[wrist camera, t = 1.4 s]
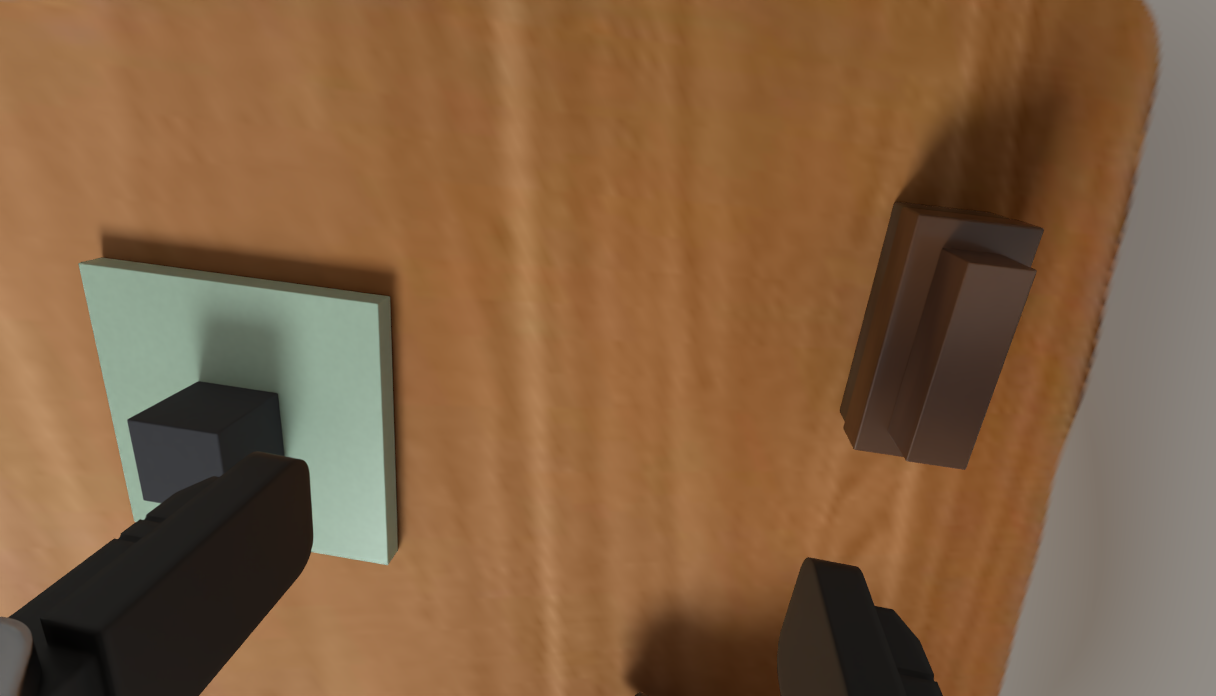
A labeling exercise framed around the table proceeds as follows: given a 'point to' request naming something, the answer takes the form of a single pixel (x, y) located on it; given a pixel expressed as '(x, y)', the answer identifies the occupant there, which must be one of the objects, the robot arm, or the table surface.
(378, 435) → the tray
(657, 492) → the table surface
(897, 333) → the brown stepped block
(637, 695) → the wooden carving
